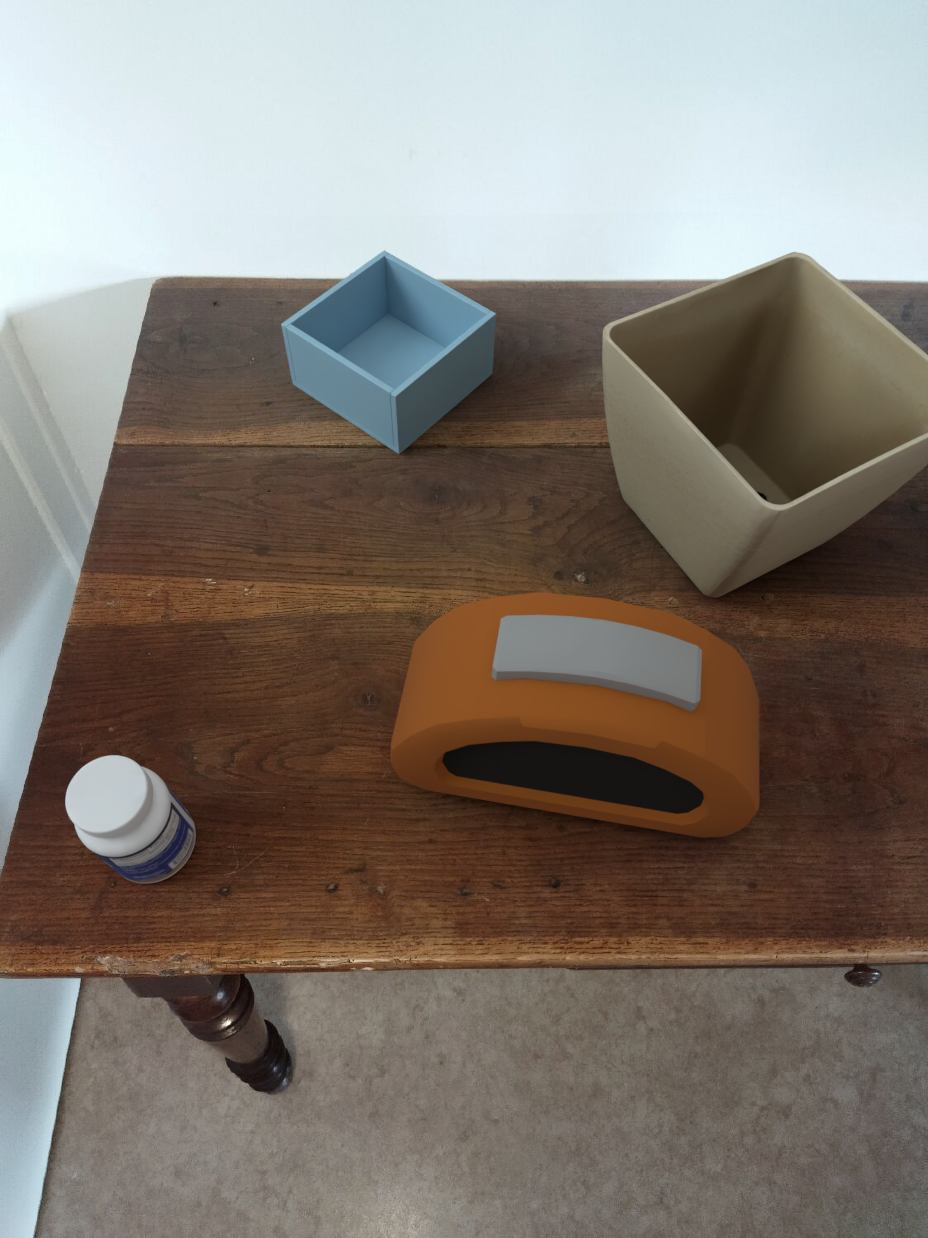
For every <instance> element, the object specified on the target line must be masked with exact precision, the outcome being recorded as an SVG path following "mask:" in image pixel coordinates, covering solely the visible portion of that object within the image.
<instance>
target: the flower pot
mask: <svg viewBox="0 0 928 1238" xmlns="http://www.w3.org/2000/svg"><path fill="white" fill-rule="evenodd" d="M601 344H602V347H601V349H602V352H601V353H602V355H601V357H602V358H601V363H602V364H601V365H602V386H603V387H602V388H603V389H602V390H603V402H604V404H603V405H604V415H605V421H606V430H607V436H608V437H607V438H608V442H609V447H610V454H611V458H612V463H613V467H614V471H615V476H616V481H617V484H618V486H619V491H620V494H621V497H622V499H623V501H624V503H626V505H628V507H629V508H630V509H631V510H632V511H633V512H634V514H635V515H636V516H637V517H638V519H639V520H640V521H641V523H643V525H644V526H645V527H646V528H647V530H649V532H650V533H651V535H653V537H654V538H655V539H656V541H658V542H659V544H660V545H661V546H662V547H663V548H664V550H665V551H666V552H667V553H668V555H670V557H671V558H672V559H673V560H674V562H675V563H676V564H677V565H678V566H679V568H680V569H681V570H682V571H683V572H684V573H685V575H686V576H687V577H688V578H689V579H690V580H691V582H692V583H693V584H694V585H695V586H696V588H697V589H698V590H699V591H700V592H701V593H702V594H703V595H704V596H706V597H708V598H715V599H716V598H720V597H722V596H724V595H727V594H728V593H730V592H732V591H734V590H736V589H738V588H740V587H742V586H744V585H746V584H748V583H750V582H752V581H754V580H755V579H758V578H759V577H761V576H763V575H765V574H767V573H769V572H771V571H773V570H775V569H776V568H777V569H778V568H779V567H781V566H782V565H785V564H787V563H789V562H790V561H793V560H794V559H796V558H798V557H800V556H802V555H804V554H806V553H808V552H810V551H812V550H814V549H816V548H817V547H820V546H822V545H824V544H826V542H828V541H830V540H831V539H832V538H834V537H836V536H837V535H839V534H840V533H842V532H844V531H845V530H846V529H847V528H849V527H850V526H852V525H853V524H854V523H856V522H857V521H858V520H861V518H863V517H865V516H866V515H867V514H869V513H871V511H872V510H874V509H875V508H877V507H878V506H879V505H880V504H881V503H883V502H884V501H886V500H887V499H888V498H890V496H892V495H894V493H896V492H897V491H899V489H900V488H902V487H903V486H904V485H906V483H908V482H909V481H910V480H911V479H912V478H914V477H915V476H916V475H917V474H918V473H920V472H921V471H922V470H923V469H924V468H925V467H927V466H928V354H927V353H926V352H925V351H924V350H923V349H921V348H920V347H919V346H918V345H917V344H915V342H913V341H912V340H911V339H909V338H908V337H907V336H906V335H904V333H902V332H901V330H899V329H897V328H896V326H894V325H893V324H892V323H891V322H890V321H888V320H887V319H885V318H884V317H883V315H881V314H880V313H879V312H877V311H876V310H875V309H874V308H872V307H871V305H870V304H868V303H867V302H865V301H864V300H863V299H862V298H861V297H859V296H858V295H857V294H856V293H855V292H853V291H852V289H850V288H849V287H847V286H846V285H845V284H844V283H843V282H842V281H840V280H839V279H838V278H837V277H835V275H833V274H832V273H830V272H829V271H828V270H827V269H826V268H825V267H824V266H822V265H821V264H820V263H818V261H816V260H815V258H813V257H811V255H808V254H806V253H804V252H798V251H793V252H789V253H787V254H784V255H781V256H779V257H776V258H774V259H771V260H769V261H766V262H764V263H761V264H759V265H756V266H754V267H751V268H748V269H745V270H743V271H740V272H738V273H736V274H733V275H730V276H728V277H726V278H723V279H721V280H718V281H715V282H713V283H710V284H708V285H705V286H703V287H699V288H697V289H694V290H692V291H689V292H687V293H684V294H681V295H679V296H677V297H674V298H671V299H669V300H666V301H664V302H661V303H659V304H658V303H657V304H656V305H653V306H651V307H648V308H645V309H643V310H640V311H637V312H635V313H631V314H630V315H627V316H624V317H622V318H619V319H616V320H613V321H611V322H609V323H607V324H606V325H605V326H604V327H603V329H602V343H601ZM760 494H761V495H762V496H764V498H765V499H764V498H763V497H762V496H760Z"/></svg>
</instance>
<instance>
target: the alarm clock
mask: <svg viewBox="0 0 928 1238" xmlns="http://www.w3.org/2000/svg"><path fill="white" fill-rule="evenodd" d="M406 672H407V673H406V677H405V680H404V685H403V690H402V693H401V697H400V701H399V702H400V703H399V706H398V711H397V715H396V718H395V724H394V727H393V731H392V732H393V733H392V737H391V740H390V763H391V767H392V769H393V770H394V772H395V774H396V775H397V777H398V778H399V779H401V780H402V781H404V782H406V783H407V784H409V785H412V786H414V787H417V788H418V789H422V790H424V791H429V792H434V793H435V792H436V793H441V794H447V795H452V796H459V797H464V798H470V799H476V800H482V801H488V802H493V803H498V804H499V803H500V804H505V805H510V806H516V807H521V808H528V809H534V810H540V811H546V812H551V813H556V814H562V815H569V816H574V817H580V818H587V819H591V820H598V821H602V822H609V823H615V824H621V825H626V826H633V827H638V828H644V829H649V830H656V831H661V832H666V833H667V832H668V833H674V834H677V835H678V834H679V835H685V836H690V837H696V838H703V839H704V838H723V837H728V836H732V835H734V834H735V833H737V832H739V831H741V830H742V829H744V828H745V827H747V826H748V825H749V824H750V822H751V821H752V819H754V817H755V815H756V814H757V812H758V811H759V809H760V697H759V693H758V691H757V688H756V685H755V681H754V678H753V675H752V670H751V668H750V667H749V665H748V664H747V663H746V662H745V660H744V659H743V658H742V656H741V655H740V654H739V652H738V650H737V649H735V647H733V646H732V645H730V644H729V643H728V642H726V641H724V640H723V639H721V638H720V637H718V636H716V635H715V634H713V633H712V632H711V631H709V630H707V629H706V628H703V627H701V626H698V625H697V624H695V623H693V622H690V621H688V620H687V619H684V618H682V617H680V616H677V615H676V614H673V613H671V612H669V611H665V610H661V609H660V610H659V609H655V608H651V607H646V606H642V605H638V604H637V605H636V604H633V603H628V602H623V601H619V600H614V599H609V598H606V597H605V598H604V597H595V596H594V597H593V596H582V595H572V594H562V593H552V592H551V593H549V592H542V591H541V592H539V591H535V592H528V593H519V594H509V595H501V596H494V597H490V598H486V599H485V598H484V599H481V600H477V601H473V602H468V603H464V604H460V605H459V606H457V607H455V608H454V609H451V610H450V611H448V612H446V613H445V614H442V615H441V616H440V617H438V618H436V619H435V620H434V621H432V623H431V624H430V625H429V626H427V628H426V629H425V630H424V631H423V632H422V633H421V634H420V635H418V637H417V638H416V639H415V641H414V642H413V645H412V650H411V655H410V658H409V663H408V667H407V671H406Z"/></svg>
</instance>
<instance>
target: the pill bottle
mask: <svg viewBox="0 0 928 1238" xmlns="http://www.w3.org/2000/svg"><path fill="white" fill-rule="evenodd" d="M64 799H65V800H64V802H65V803H64V804H65V810H66V814H67V815H68V818H69V820H70V821H71V822H72V823H73V824H74V829H75V832H76V834H77V836H78V838H79V840H80V842H81V843H82V845H84V846H85V847H86V848H87V849H88V850H89V851H91V852H92V853H93V854H94V855H95V856H97V857H98V858H99V859H100V860H101V861H102V862H104V863H105V864H106V865H108V866H109V867H110V869H112V870H114V871H115V872H116V873H117V874H118V875H120V876H121V877H122V878H124V879H126V880H127V881H130V882H133V883H136V884H143V885H144V884H154V883H159V882H162V881H164V880H167V879H169V878H170V877H173V876H174V875H175V874H177V873H178V872H179V871H180V870H181V869H182V868H183V867H184V866H185V865H186V863H187V862H188V861H189V859H190V858H191V855H192V853H193V851H194V848H195V845H196V839H197V834H196V832H197V831H196V826H195V822H194V820H193V818H192V815H191V814H190V812H189V811H188V809H187V808H186V806H184V804H183V803H182V802H181V801H180V799H179V798H178V797H177V796H176V794H175V793H174V792H173V791H172V790H171V788H170V787H169V786H168V785H167V783H166V782H165V781H164V779H162V778H161V777H160V776H159V775H158V773H156V772H155V771H153V770H151V769H149V768H147V767H145V766H141V765H140V764H139V763H138V762H136V761H135V760H133V759H131V758H130V757H127V756H124V755H117V754H115V755H114V754H110V755H105V756H100V757H98V758H95V759H93V760H91V761H89V762H88V763H86V764H85V765H84V766H82V767H81V768H80V769H79V770H77V772H76V773H75V775H73V777H72V778H71V780H70V782H69V784H68V786H67V789H66V792H65V798H64Z"/></svg>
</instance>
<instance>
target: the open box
mask: <svg viewBox="0 0 928 1238" xmlns="http://www.w3.org/2000/svg"><path fill="white" fill-rule="evenodd" d="M496 324H497V313H496V312H494V311H492V310H490V309H489V308H487V307H485V306H483V305H482V304H481V303H479V302H476V301H475V300H473V299H471V298H470V297H468V296H466V295H464V294H463V293H461V292H459V291H457V290H455V289H454V288H452V287H450V286H448V285H447V284H444V283H443V282H442V281H440V280H437V279H436V278H434V277H433V276H431V275H429V274H427V273H425V272H424V271H422V270H420V269H419V268H416V267H414V266H413V265H412V264H409V263H408V262H406V261H405V260H402V259H401V258H399V257H397V256H395V255H394V254H391V253H390V252H388V251H386V250H382V251H381V252H380V253H378V254H377V255H376V256H373V258H371V259H370V260H368V261H367V262H365V263H364V264H363V265H361V266H360V267H358V268H357V269H356V270H355V271H353V272H352V273H350V274H349V275H348V276H346V277H344V278H343V279H342V280H340V281H339V282H337V283H336V284H335V285H333V286H332V287H330V288H329V289H328V290H326V291H325V292H324V293H322V294H321V295H319V296H318V297H317V298H315V299H314V300H312V301H311V302H310V303H308V304H307V305H305V306H304V307H303V308H302V309H300V310H299V311H297V312H296V313H294V314H293V315H291V316H290V317H289V318H287V319H286V320H284V321H283V322H282V323H281V324H280V327H281V331H282V336H283V341H284V347H285V352H286V357H287V363H288V367H289V373H290V377H291V382H292V385H293V386H294V387H296V388H298V389H299V390H301V391H302V392H303V393H305V394H307V395H308V396H309V397H311V398H312V399H314V400H316V401H317V402H319V403H320V404H322V405H323V406H324V407H326V408H328V409H329V410H331V411H332V412H334V413H335V414H337V415H338V416H340V417H342V418H343V419H345V420H346V421H347V422H349V423H350V424H352V425H354V426H355V427H357V428H358V429H360V430H361V431H363V432H364V433H366V434H367V435H369V436H370V437H372V438H373V439H375V440H376V441H378V442H379V443H380V444H382V445H384V446H386V447H387V448H389V449H390V450H392V451H393V452H394V453H396V454H397V455H401V454H402V453H403V452H404V451H405V450H406V449H408V448H409V447H410V446H411V445H412V444H413V443H415V442H416V441H417V440H418V439H419V438H420V437H421V436H423V435H424V434H425V433H426V432H427V431H428V430H430V429H431V428H432V427H433V426H434V425H436V423H437V422H439V421H440V420H441V419H442V418H443V417H445V416H446V415H447V414H448V413H449V412H450V411H451V410H452V409H454V408H455V407H456V406H457V405H458V404H459V403H461V402H462V401H464V400H465V398H466V397H468V396H469V395H470V394H471V393H472V392H473V391H475V389H477V388H478V387H479V386H481V384H482V383H484V382H485V381H486V380H487V379H488V378H489V377H491V376H492V375H493V371H494V370H493V369H494V358H495V357H494V353H495V339H496V336H495V335H496Z"/></svg>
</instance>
